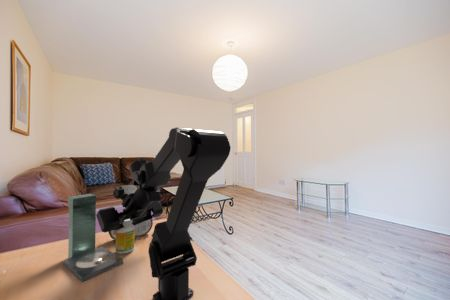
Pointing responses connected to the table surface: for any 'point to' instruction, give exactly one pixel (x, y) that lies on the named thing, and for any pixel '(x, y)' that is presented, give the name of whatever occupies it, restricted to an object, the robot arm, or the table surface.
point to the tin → (137, 229)
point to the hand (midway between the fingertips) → (123, 227)
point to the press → (86, 240)
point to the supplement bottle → (125, 237)
